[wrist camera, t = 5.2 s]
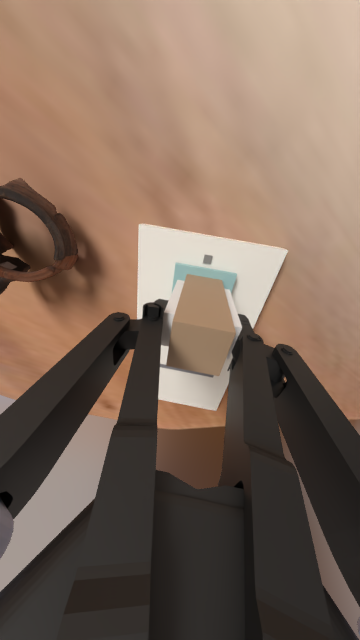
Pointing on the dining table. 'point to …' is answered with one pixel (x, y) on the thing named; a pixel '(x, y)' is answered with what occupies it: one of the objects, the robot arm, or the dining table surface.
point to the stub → (201, 320)
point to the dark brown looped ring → (14, 269)
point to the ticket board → (210, 252)
